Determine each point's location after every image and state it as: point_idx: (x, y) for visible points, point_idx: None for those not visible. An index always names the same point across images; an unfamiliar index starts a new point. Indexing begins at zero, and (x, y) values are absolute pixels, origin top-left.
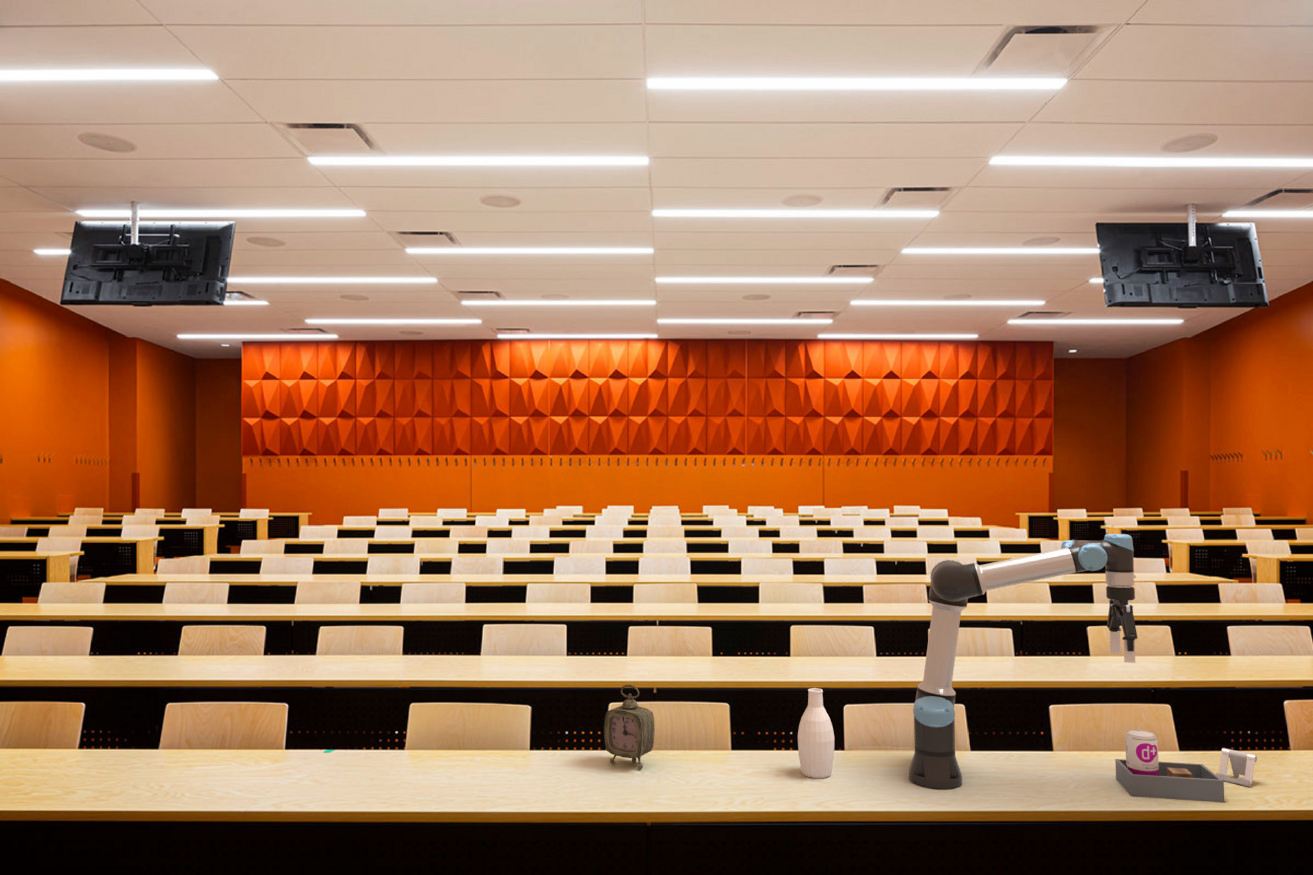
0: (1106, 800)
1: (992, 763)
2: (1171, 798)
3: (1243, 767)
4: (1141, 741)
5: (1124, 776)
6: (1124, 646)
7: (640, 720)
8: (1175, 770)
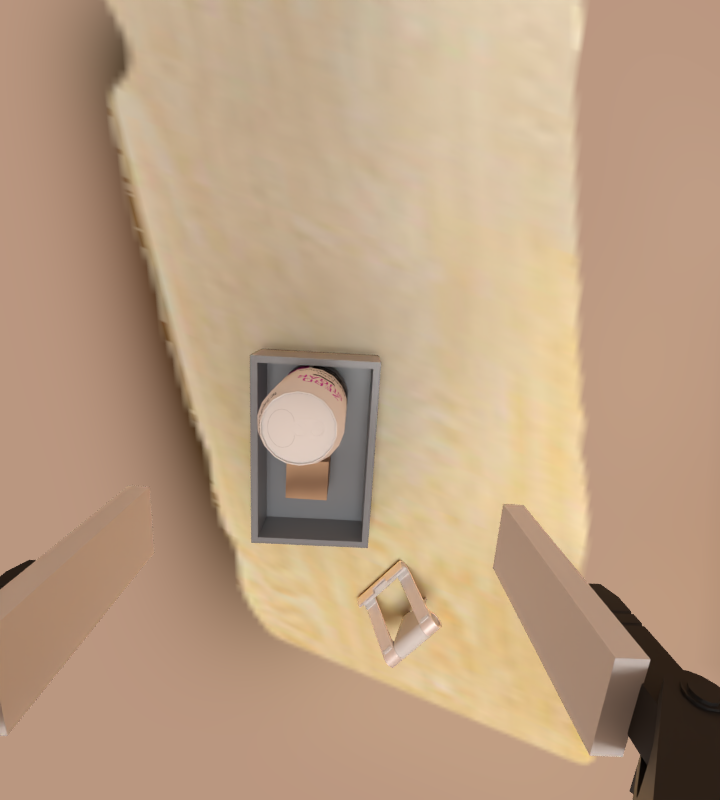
0: (217, 279)
1: (469, 41)
2: None
3: (405, 624)
4: (260, 411)
5: (308, 355)
6: (35, 566)
7: None
8: (307, 472)
